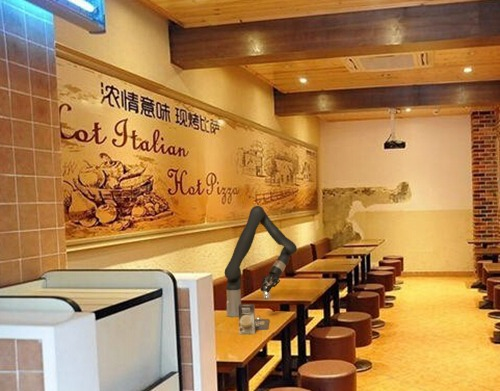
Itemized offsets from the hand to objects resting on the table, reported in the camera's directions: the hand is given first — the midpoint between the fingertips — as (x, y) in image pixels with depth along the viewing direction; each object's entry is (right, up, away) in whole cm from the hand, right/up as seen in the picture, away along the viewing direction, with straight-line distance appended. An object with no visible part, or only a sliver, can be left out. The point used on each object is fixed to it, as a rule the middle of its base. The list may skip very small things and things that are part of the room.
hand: (264, 290), depth 362 cm
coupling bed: (-4, -19, -10) cm, 22 cm away
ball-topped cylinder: (+2, -5, +1) cm, 5 cm away
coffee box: (-10, -20, -28) cm, 36 cm away
